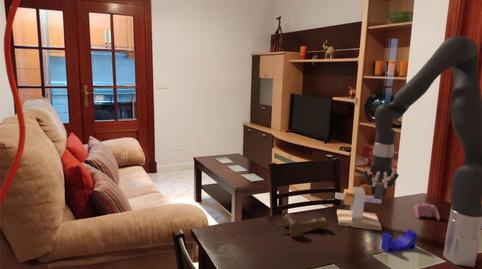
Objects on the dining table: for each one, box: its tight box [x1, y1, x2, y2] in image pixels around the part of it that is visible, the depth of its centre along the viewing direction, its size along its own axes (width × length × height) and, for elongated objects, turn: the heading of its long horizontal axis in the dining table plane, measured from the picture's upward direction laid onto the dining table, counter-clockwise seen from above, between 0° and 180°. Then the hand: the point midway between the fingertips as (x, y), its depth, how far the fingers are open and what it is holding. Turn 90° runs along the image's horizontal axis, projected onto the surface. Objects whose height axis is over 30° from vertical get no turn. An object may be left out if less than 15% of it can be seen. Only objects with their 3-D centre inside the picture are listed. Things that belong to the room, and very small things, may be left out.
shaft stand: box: [336, 186, 383, 231], centre depth 144 cm, size 13×16×14 cm
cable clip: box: [380, 229, 418, 253], centre depth 124 cm, size 12×4×6 cm, turn 108°
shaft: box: [334, 181, 384, 204], centre depth 143 cm, size 3×18×8 cm, turn 80°
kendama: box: [276, 213, 328, 238], centre depth 134 cm, size 6×10×20 cm
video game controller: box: [413, 202, 441, 221], centre depth 152 cm, size 10×5×7 cm, turn 85°
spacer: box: [342, 188, 353, 206], centre depth 144 cm, size 5×3×5 cm, turn 170°
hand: (377, 194), depth 142 cm, fingers closed on shaft, 3 cm apart
